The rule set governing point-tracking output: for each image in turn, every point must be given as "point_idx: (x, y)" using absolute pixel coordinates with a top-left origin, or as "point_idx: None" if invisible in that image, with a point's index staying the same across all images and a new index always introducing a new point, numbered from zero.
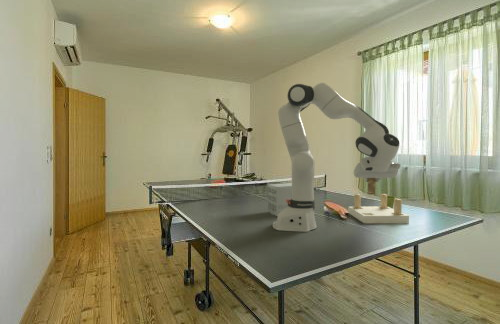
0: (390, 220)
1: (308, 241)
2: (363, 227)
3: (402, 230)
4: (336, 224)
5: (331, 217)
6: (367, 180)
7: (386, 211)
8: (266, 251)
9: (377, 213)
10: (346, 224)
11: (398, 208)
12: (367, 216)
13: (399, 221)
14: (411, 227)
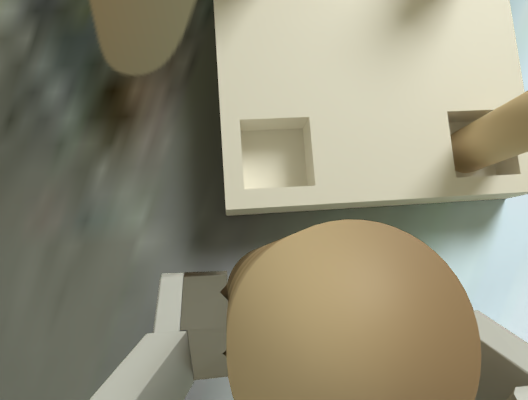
0: (403, 203)
1: None
2: None
3: None
4: (27, 253)
5: (48, 70)
6: (194, 375)
7: (435, 67)
8: None
9: (351, 129)
10: (98, 249)
11: (512, 152)
12: (252, 208)
13: (456, 200)
14: (485, 294)
